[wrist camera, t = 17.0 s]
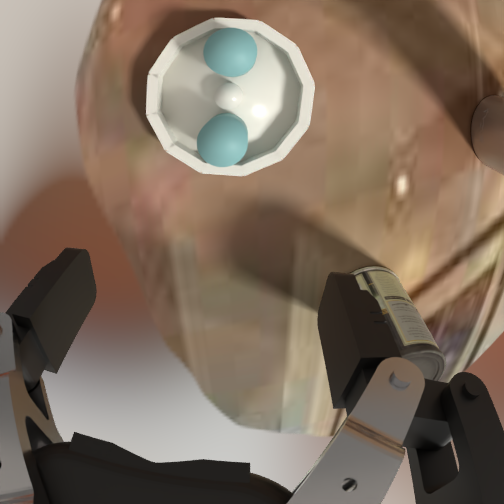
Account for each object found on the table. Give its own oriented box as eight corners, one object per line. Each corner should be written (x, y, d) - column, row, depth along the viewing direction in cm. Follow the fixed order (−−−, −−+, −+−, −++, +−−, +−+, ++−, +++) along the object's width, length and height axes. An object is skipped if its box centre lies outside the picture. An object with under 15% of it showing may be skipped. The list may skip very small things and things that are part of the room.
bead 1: (257, 37, 22) (259, 29, 19) (254, 78, 25) (254, 77, 21) (212, 35, 22) (205, 27, 18) (208, 76, 24) (201, 75, 20)
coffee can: (379, 330, 42) (410, 410, 30) (316, 321, 40) (336, 412, 28) (414, 273, 37) (464, 352, 24) (347, 257, 35) (387, 348, 23)
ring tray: (320, 31, 23) (325, 27, 21) (299, 178, 30) (303, 185, 28) (157, 20, 22) (149, 16, 20) (149, 166, 29) (142, 173, 27)
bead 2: (249, 114, 26) (250, 120, 22) (245, 156, 28) (245, 169, 24) (205, 111, 26) (197, 117, 22) (203, 153, 28) (195, 165, 24)
